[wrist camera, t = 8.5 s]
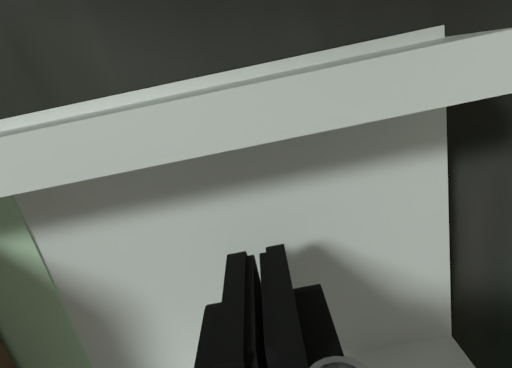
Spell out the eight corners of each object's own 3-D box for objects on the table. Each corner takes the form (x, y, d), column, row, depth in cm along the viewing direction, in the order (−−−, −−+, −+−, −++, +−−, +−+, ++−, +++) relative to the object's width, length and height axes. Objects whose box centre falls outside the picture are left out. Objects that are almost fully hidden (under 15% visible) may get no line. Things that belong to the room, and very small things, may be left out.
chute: (425, 28, 10) (530, 7, 6) (438, 346, 14) (508, 450, 10) (-207, 163, 11) (-442, 215, 7) (-31, 429, 15) (-126, 552, 11)
